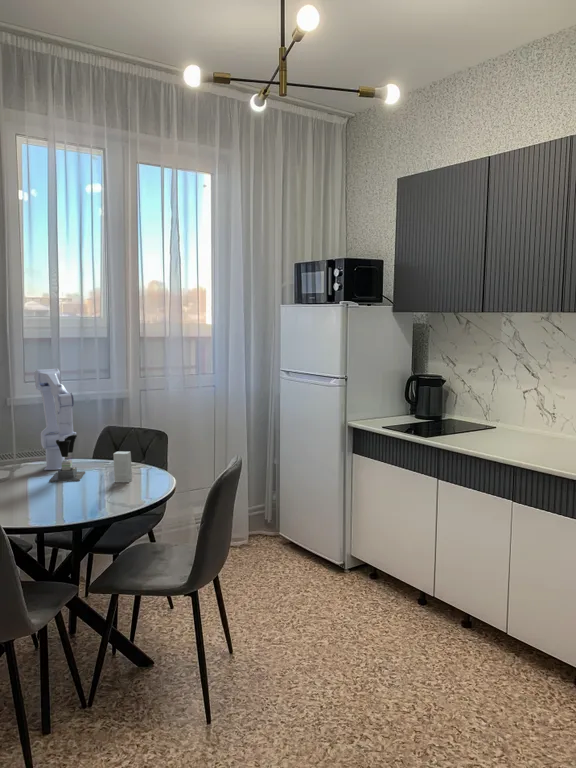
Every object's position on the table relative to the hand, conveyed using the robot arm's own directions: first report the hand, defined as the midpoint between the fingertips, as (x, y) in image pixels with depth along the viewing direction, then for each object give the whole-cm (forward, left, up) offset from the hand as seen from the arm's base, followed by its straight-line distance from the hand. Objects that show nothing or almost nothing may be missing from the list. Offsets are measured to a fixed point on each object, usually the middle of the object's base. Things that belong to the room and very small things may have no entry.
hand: (67, 454), depth 256 cm
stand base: (-1, -1, -10) cm, 10 cm away
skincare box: (+8, +23, -10) cm, 27 cm away
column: (-1, -1, -10) cm, 10 cm away
